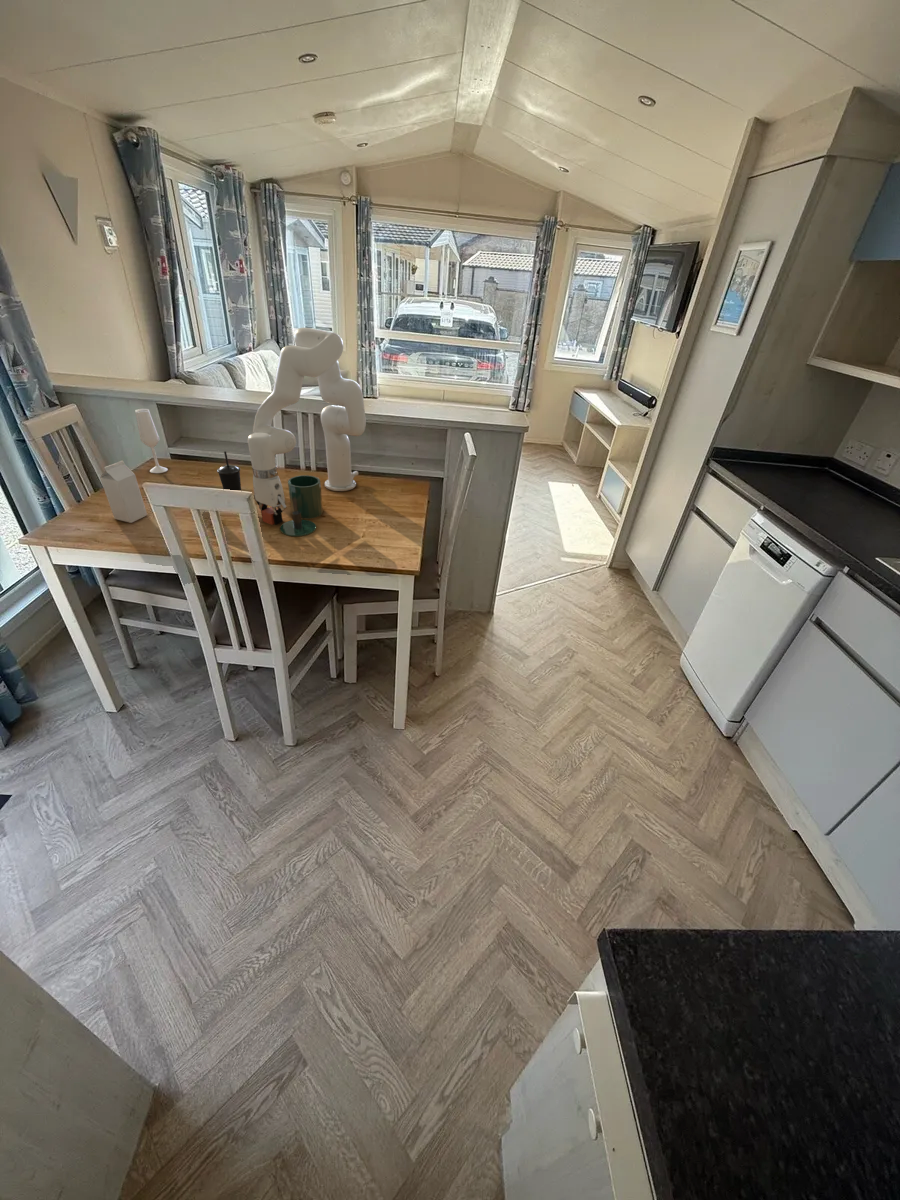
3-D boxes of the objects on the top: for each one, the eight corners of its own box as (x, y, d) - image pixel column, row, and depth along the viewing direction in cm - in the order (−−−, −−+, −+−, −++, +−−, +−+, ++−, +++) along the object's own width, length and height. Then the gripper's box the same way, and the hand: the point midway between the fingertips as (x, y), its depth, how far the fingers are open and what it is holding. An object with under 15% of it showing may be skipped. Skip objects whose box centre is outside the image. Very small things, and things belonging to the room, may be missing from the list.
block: (272, 518, 180) (271, 506, 177) (282, 521, 178) (280, 510, 175) (263, 522, 176) (261, 510, 174) (272, 526, 175) (270, 514, 172)
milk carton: (147, 515, 175) (131, 462, 164) (131, 523, 170) (112, 469, 159) (131, 511, 177) (114, 458, 166) (114, 519, 171) (95, 465, 160)
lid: (298, 519, 180) (295, 502, 177) (323, 528, 176) (322, 511, 172) (272, 531, 172) (270, 513, 168) (299, 541, 167) (296, 523, 163)
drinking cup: (239, 510, 183) (229, 456, 171) (220, 507, 184) (208, 453, 172) (250, 502, 189) (241, 449, 178) (231, 499, 190) (221, 447, 179)
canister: (306, 504, 191) (303, 472, 183) (329, 512, 186) (326, 480, 179) (285, 514, 183) (280, 481, 175) (308, 522, 178) (304, 489, 171)
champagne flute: (170, 467, 211) (154, 408, 198) (163, 473, 206) (147, 413, 192) (153, 466, 211) (137, 407, 197) (146, 472, 205) (129, 412, 192)
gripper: (292, 474, 166) (298, 524, 177) (255, 463, 173) (263, 511, 183) (275, 481, 161) (282, 532, 171) (237, 469, 167) (247, 518, 178)
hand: (272, 521), depth 177 cm, fingers open, 5 cm apart
